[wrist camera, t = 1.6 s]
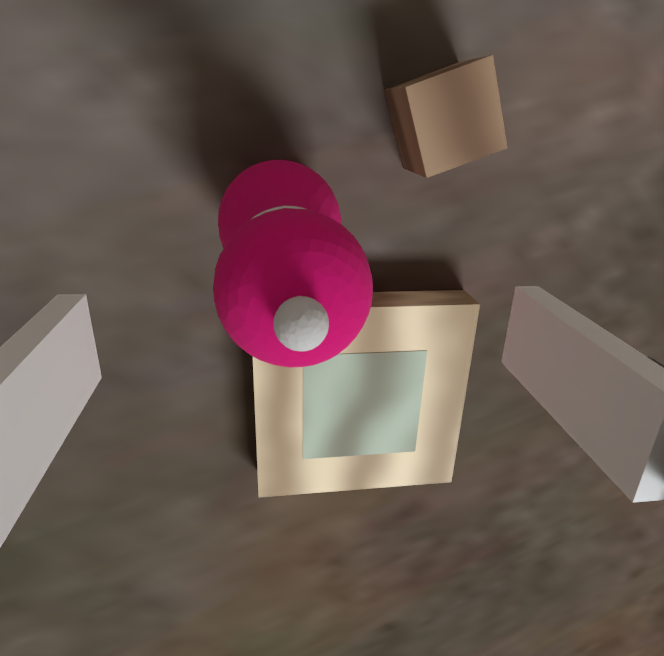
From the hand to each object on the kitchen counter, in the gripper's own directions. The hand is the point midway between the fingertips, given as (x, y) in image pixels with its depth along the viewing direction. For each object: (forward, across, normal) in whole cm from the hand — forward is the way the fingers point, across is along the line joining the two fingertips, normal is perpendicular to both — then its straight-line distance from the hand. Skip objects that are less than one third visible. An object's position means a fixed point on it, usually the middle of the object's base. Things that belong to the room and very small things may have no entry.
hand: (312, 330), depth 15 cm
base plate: (+20, +6, -14) cm, 25 cm away
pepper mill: (+20, 0, 0) cm, 20 cm away
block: (+20, +10, +6) cm, 23 cm away
